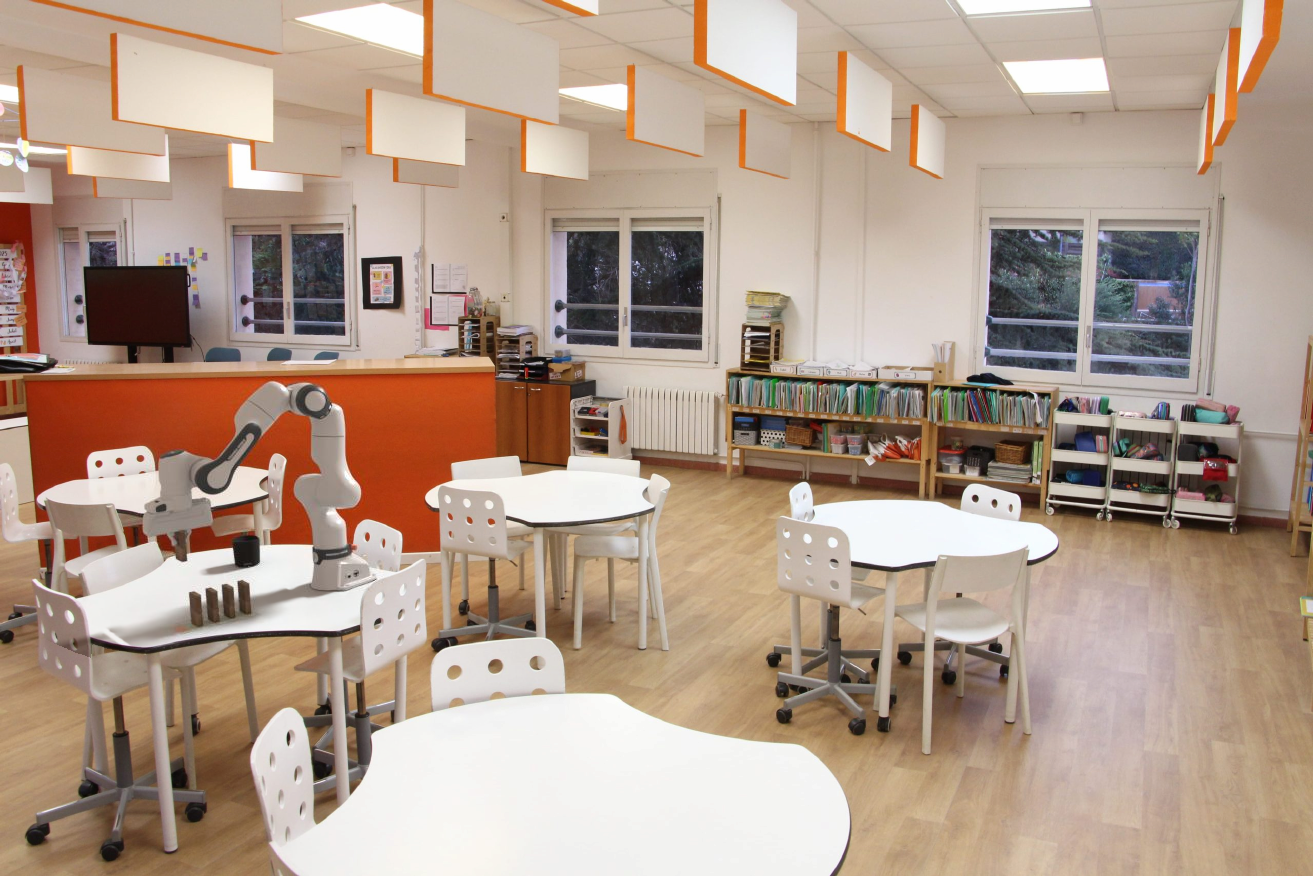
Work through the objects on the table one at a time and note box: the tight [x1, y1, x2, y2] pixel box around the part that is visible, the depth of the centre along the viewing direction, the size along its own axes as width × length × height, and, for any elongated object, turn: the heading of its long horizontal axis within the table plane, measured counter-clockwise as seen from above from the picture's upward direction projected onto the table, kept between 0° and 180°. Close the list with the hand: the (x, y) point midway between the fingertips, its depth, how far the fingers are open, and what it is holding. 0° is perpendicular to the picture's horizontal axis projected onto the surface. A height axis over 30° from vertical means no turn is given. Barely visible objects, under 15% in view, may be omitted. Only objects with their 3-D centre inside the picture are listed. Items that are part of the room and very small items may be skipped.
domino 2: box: [204, 587, 220, 623], centre depth 300 cm, size 2×5×10 cm, turn 47°
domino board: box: [169, 608, 260, 635], centre depth 302 cm, size 24×9×1 cm, turn 137°
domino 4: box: [236, 579, 252, 615], centre depth 307 cm, size 2×5×10 cm, turn 47°
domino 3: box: [221, 583, 236, 619], centre depth 304 cm, size 2×5×10 cm, turn 47°
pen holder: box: [231, 534, 261, 568], centre depth 360 cm, size 9×9×10 cm
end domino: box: [173, 530, 188, 563], centre depth 305 cm, size 2×5×10 cm, turn 47°
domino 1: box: [188, 590, 204, 627], centre depth 297 cm, size 2×5×10 cm, turn 47°
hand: (180, 544), depth 305 cm, fingers closed on end domino, 2 cm apart
